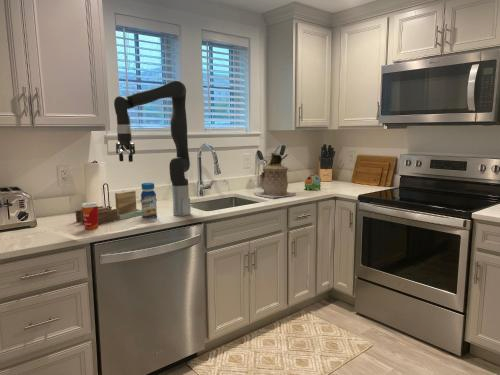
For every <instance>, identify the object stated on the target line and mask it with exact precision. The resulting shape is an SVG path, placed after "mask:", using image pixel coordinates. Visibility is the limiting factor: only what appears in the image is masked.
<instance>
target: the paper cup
mask: <svg viewBox="0 0 500 375" xmlns="http://www.w3.org/2000/svg"><path fill="white" fill-rule="evenodd" d="M98 207H99V204H98V202H96V201H91V202H89V201H88V202H83V203H82V204H81V210H83V217H84V224H83V225H84V228H85V230H86V231H93V230H97V229H99V224H98Z"/></svg>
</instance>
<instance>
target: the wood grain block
mask: <svg viewBox="0 0 500 375" xmlns="http://www.w3.org/2000/svg"><path fill="white" fill-rule="evenodd" d="M136 192H137V191H136V190H126V191H122V192H121V191H120V192H115V193H114V197H115V198H114V200H115V209H117V214H119V215H122V214H127V213H132V212H137V209H138V208H137V196H136Z"/></svg>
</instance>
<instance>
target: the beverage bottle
mask: <svg viewBox="0 0 500 375" xmlns="http://www.w3.org/2000/svg"><path fill="white" fill-rule="evenodd" d="M141 190H142V192H141V194H140V198H141V199H140V203H141V210H142V216H141V218H143V219H155V220H157V219H158V211H157V210H158V209H157V197H156V196H157V194H156V192H155V183H154V182H142V183H141Z"/></svg>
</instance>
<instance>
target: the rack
mask: <svg viewBox="0 0 500 375" xmlns="http://www.w3.org/2000/svg"><path fill="white" fill-rule="evenodd" d="M103 207H105V208H107V211H102V212H98V225H103V224H107V223H111V222H112V223H113V222H116V221H118V220H119V219H118V215H117V209H116V208H113V209H109V206H103V205H98V208H103ZM75 221H76V223H78V224H82V225H85V224H84V217H83V210H82V209H79V210H78V209H77V210H75Z"/></svg>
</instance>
